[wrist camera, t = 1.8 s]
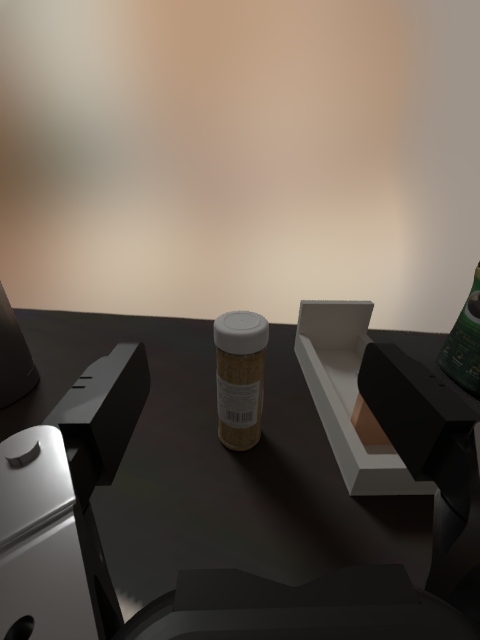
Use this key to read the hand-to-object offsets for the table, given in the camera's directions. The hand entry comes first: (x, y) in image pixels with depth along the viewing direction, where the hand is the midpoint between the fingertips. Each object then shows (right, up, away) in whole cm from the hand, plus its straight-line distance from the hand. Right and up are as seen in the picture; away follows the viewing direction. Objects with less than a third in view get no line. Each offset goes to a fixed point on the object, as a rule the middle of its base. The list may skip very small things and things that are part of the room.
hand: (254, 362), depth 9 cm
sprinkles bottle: (-1, -11, +18) cm, 21 cm away
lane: (+14, -8, +23) cm, 28 cm away
